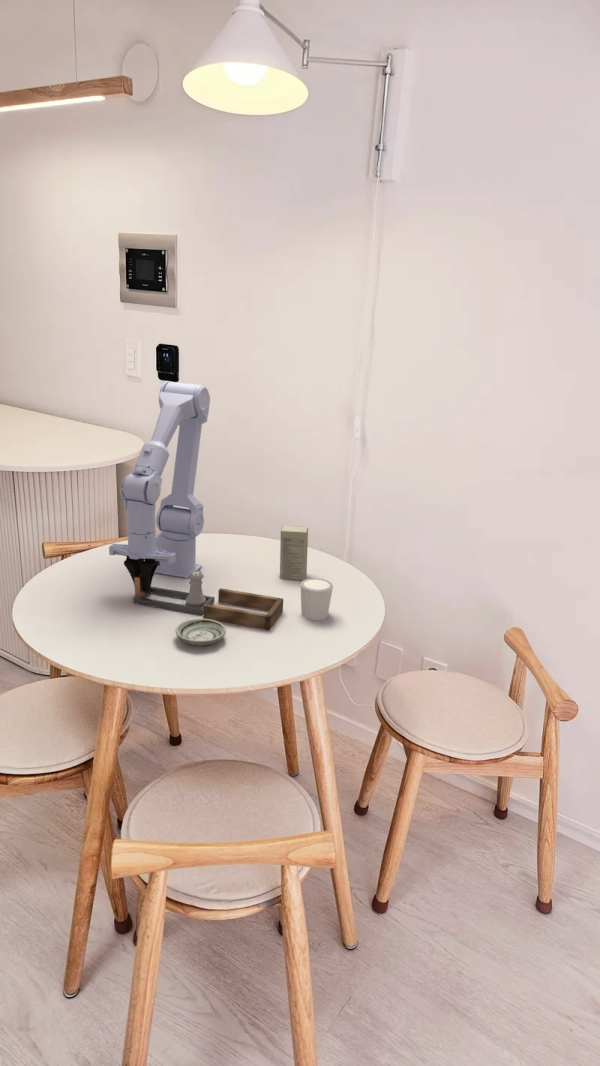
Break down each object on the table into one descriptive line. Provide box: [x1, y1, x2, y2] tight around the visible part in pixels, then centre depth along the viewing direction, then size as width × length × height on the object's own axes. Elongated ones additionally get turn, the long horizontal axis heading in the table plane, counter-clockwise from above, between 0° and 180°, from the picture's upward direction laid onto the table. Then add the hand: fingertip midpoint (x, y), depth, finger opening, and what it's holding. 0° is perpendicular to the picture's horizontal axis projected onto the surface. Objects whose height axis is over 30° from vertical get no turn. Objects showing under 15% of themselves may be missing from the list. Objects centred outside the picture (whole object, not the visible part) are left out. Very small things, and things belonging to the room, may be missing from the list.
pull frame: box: [132, 573, 216, 616], centre depth 149 cm, size 16×7×6 cm, turn 75°
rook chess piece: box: [184, 569, 206, 608], centre depth 148 cm, size 4×4×8 cm
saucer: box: [174, 618, 227, 647], centre depth 135 cm, size 10×10×2 cm
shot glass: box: [299, 577, 334, 621], centre depth 147 cm, size 7×7×7 cm
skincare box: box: [279, 525, 309, 581], centre depth 165 cm, size 6×4×12 cm
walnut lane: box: [202, 587, 284, 631], centre depth 146 cm, size 14×9×3 cm, turn 75°
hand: (142, 589), depth 151 cm, fingers closed on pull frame
